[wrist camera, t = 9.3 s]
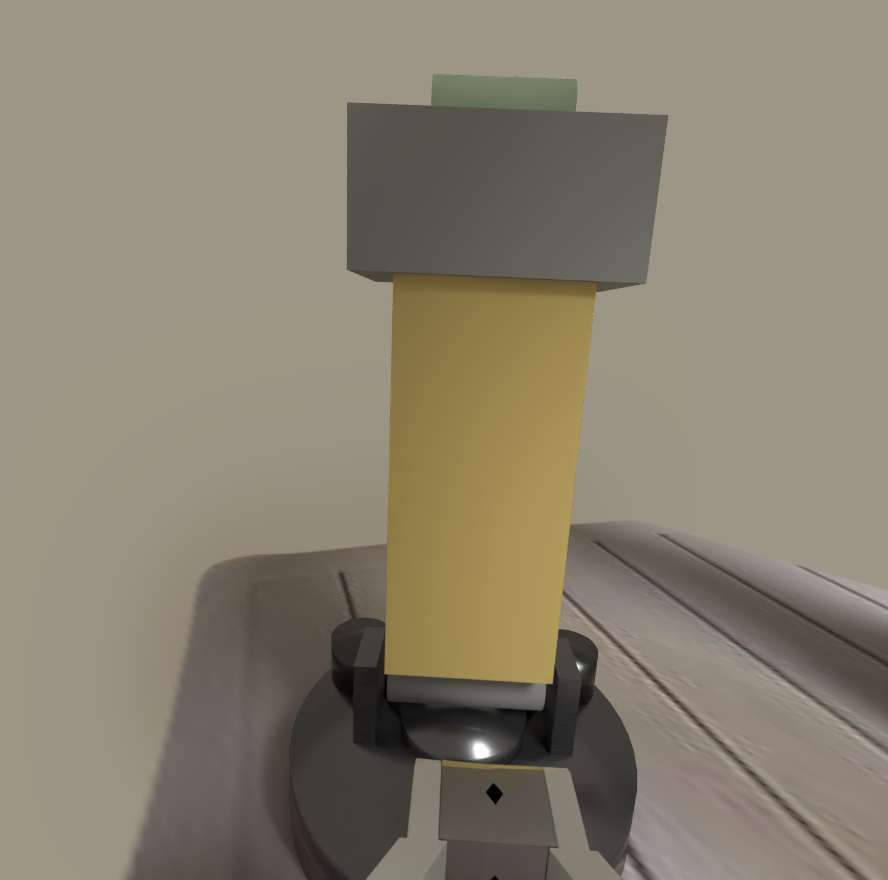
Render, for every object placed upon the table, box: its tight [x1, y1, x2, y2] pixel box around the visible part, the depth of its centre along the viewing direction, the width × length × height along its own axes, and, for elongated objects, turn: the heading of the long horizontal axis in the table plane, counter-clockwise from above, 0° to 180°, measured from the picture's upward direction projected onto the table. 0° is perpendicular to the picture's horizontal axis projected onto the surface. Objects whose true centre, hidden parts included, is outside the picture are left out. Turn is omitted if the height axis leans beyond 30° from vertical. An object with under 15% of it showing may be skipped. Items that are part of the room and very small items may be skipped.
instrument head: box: [347, 74, 668, 711], centre depth 23 cm, size 8×10×26 cm
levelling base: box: [290, 618, 637, 880], centre depth 25 cm, size 16×16×7 cm
